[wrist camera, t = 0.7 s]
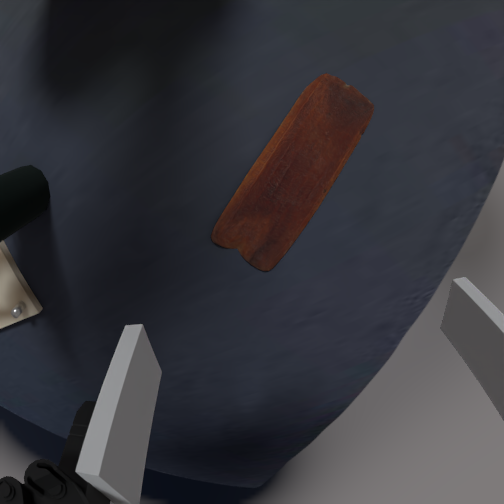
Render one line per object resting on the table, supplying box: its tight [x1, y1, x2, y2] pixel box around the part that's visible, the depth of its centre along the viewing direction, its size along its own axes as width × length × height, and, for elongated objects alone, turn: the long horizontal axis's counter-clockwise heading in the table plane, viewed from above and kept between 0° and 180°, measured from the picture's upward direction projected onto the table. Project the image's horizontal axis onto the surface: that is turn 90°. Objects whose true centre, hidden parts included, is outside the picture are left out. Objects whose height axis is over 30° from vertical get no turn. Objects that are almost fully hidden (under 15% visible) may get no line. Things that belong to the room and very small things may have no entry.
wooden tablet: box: [211, 73, 374, 271], centre depth 38 cm, size 27×10×2 cm, turn 148°
